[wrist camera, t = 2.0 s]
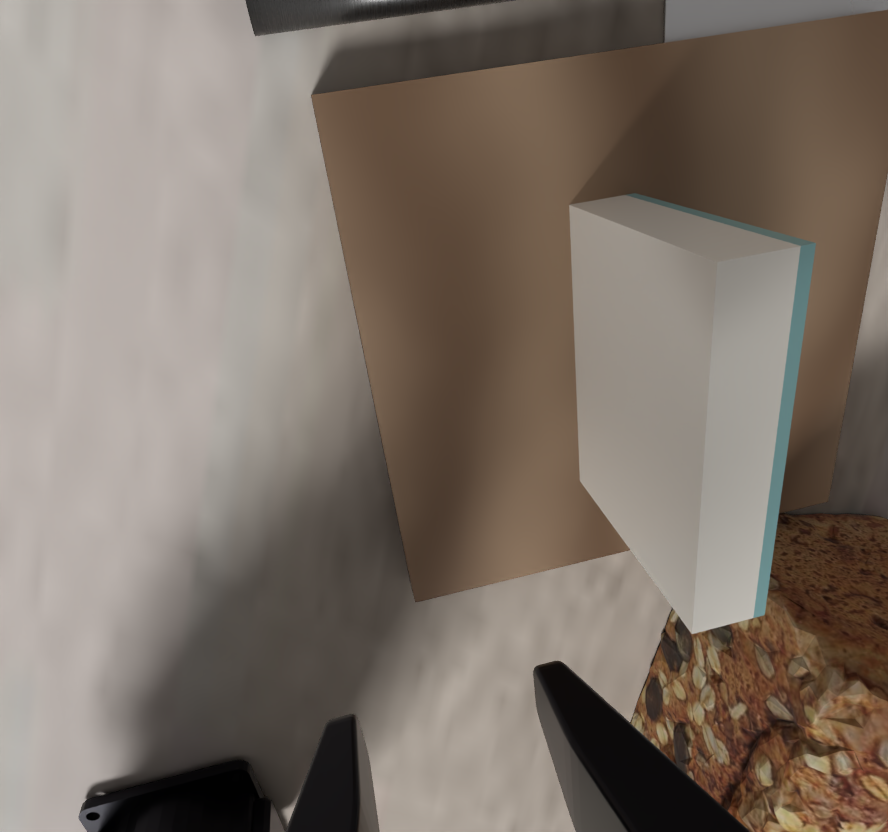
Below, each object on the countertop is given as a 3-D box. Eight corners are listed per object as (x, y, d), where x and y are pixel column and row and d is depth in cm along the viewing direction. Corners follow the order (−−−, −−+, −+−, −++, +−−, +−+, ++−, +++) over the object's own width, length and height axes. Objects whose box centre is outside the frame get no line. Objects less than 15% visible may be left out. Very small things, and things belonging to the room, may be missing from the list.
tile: (579, 481, 21) (691, 633, 15) (569, 204, 17) (716, 261, 11) (633, 468, 22) (764, 615, 15) (635, 193, 17) (815, 243, 11)
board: (410, 579, 23) (415, 602, 22) (311, 95, 16) (311, 94, 15) (806, 485, 25) (828, 501, 24) (881, 11, 18) (918, 4, 17)
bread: (688, 503, 25) (901, 725, 16) (910, 502, 27) (1201, 693, 18) (585, 812, 32) (691, 1076, 24) (765, 789, 35) (921, 1020, 26)
